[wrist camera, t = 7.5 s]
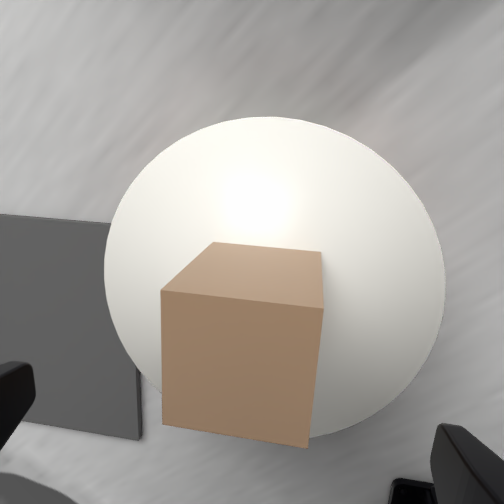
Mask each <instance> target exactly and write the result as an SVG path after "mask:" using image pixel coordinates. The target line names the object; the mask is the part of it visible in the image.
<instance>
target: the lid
mask: <svg viewBox="0 0 504 504" xmlns="http://www.w3.org/2000/svg"><path fill="white" fill-rule="evenodd" d="M104 282H105V291H106V299H107V303H108V307H109V311H110V315H111V318H112V321H113V323H114V326H115V329H116V331H117V334H118V336H119V338H120V340H121V342H122V344H123V346H124V348H125V350H126V351H127V353H128V355H129V356H130V358H131V359H132V361H133V362H134V364H135V365H136V366H137V368H138V369H139V371H140V372H141V373H142V374H143V375H144V376H145V377H146V379H147V380H148V381H149V382H150V383H151V384H152V385H153V386H154V387H155V388H156V389H157V390H158V391H159V392H160V393H161V394H162V424H163V425H169V426H175V427H181V428H187V429H193V430H199V431H205V432H211V433H217V434H222V435H228V436H234V437H240V438H246V439H252V440H258V441H264V442H270V443H276V444H282V445H288V446H294V447H300V448H306V449H308V443H309V438H313V437H318V436H322V435H327V434H331V433H334V432H337V431H340V430H343V429H345V428H348V427H351V426H353V425H355V424H357V423H359V422H361V421H363V420H365V419H367V418H369V417H371V416H372V415H374V414H375V413H377V412H378V411H380V410H381V409H383V408H384V407H386V406H387V405H388V404H389V403H391V402H392V401H393V400H394V399H395V398H396V397H397V396H398V395H400V394H401V393H402V392H403V391H404V390H405V388H406V387H407V386H408V385H409V384H410V383H411V381H412V380H413V379H414V378H415V377H416V376H417V374H418V372H419V371H420V369H421V368H422V366H423V365H424V363H425V362H426V360H427V358H428V356H429V354H430V352H431V350H432V348H433V345H434V343H435V341H436V339H437V335H438V332H439V329H440V325H441V322H442V318H443V312H444V304H445V297H446V285H445V268H444V262H443V256H442V250H441V246H440V243H439V240H438V237H437V234H436V231H435V228H434V226H433V224H432V222H431V220H430V218H429V216H428V214H427V212H426V210H425V208H424V206H423V204H422V202H421V201H420V199H419V198H418V197H417V195H416V194H415V192H414V191H413V189H412V188H411V187H410V185H409V184H408V183H407V182H406V181H405V180H404V178H403V177H402V176H401V175H400V174H399V173H398V172H397V171H396V170H395V169H394V168H393V167H392V166H391V165H390V164H389V163H388V162H386V161H385V160H384V159H383V158H381V157H380V156H379V155H378V154H376V153H375V152H374V151H373V150H371V149H370V148H368V147H366V146H365V145H363V144H361V143H360V142H358V141H356V140H354V139H353V138H351V137H349V136H347V135H345V134H342V133H340V132H338V131H335V130H333V129H330V128H328V127H326V126H322V125H318V124H314V123H311V122H307V121H303V120H298V119H289V118H281V117H249V118H243V119H237V120H231V121H225V122H222V123H219V124H215V125H212V126H209V127H206V128H203V129H201V130H198V131H196V132H194V133H192V134H190V135H188V136H186V137H184V138H182V139H180V140H179V141H177V142H176V143H174V144H173V145H171V146H170V147H168V148H167V149H165V150H164V151H162V152H161V153H160V154H159V155H158V156H157V157H156V158H154V159H153V160H152V161H151V162H150V163H149V164H148V165H147V166H146V167H145V168H144V169H143V170H142V171H141V173H140V174H139V175H138V176H137V177H136V179H135V180H134V181H133V182H132V184H131V185H130V187H129V188H128V190H127V192H126V193H125V195H124V197H123V198H122V200H121V202H120V204H119V206H118V209H117V211H116V213H115V215H114V218H113V220H112V224H111V227H110V231H109V234H108V238H107V243H106V250H105V258H104Z"/></svg>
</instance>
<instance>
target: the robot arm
mask: <svg viewBox="0 0 504 504" xmlns="http://www.w3.org/2000/svg"><path fill="white" fill-rule="evenodd" d="M35 398H36V387H35V379H34V371H33V367H32V365H31V364H30V363H27V362H21V361H10V362H7V363H4V364H0V451H1V449H2V448H3V446H4V445H5V443H6V442H7V441H8V439H9V438H10V436H11V435H12V433H13V432H14V431H15V429H16V428H17V426H18V425H19V423H20V422H21V421H22V419H23V418H24V416H25V415H26V413H27V412H28V411H29V409H30V408H31V406H32V405H33V403H34V401H35ZM430 465H431V472H432V477H433V481H434V484H433V483H427V482H421V481H415V480H409V479H403V478H398V479H395V480H394V481H393V483H392V487H391V492H390V497H389V503H388V504H504V460H502V459H501V458H500V457H499V456H498V455H496V454H495V453H494V452H493V451H491V450H490V449H489V448H488V447H487V446H485V445H484V444H483V443H482V442H481V441H479V440H478V439H477V438H476V437H475V436H473V435H472V434H471V433H470V432H469V431H467V430H466V429H465V428H463V427H462V426H459V425H453V424H446V423H441V424H439V425H438V427H437V430H436V434H435V438H434V443H433V447H432V452H431V457H430ZM402 487H403V489H400V488H402Z"/></svg>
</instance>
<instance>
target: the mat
mask: <svg viewBox="0 0 504 504" xmlns="http://www.w3.org/2000/svg"><path fill="white" fill-rule="evenodd" d="M111 224H112V223H100V222H88V221H76V220H65V219H53V218H41V217H30V216H18V215H6V214H0V364H4V363H7V362H10V361H21V362H27V363H30V364H31V365H32V367H33V371H34V379H35V387H36V398H35V401H34V403H33V405H32V406H31V408H30V409H29V411H28V412H27V413H26V415H25V416H24V418H23V419H22V421H27V422H32V423H38V424H44V425H50V426H56V427H62V428H67V429H73V430H79V431H85V432H91V433H97V434H102V435H108V436H114V437H120V438H126V439H131V440H137V441H139V439H140V438H141V436H142V421H141V396H140V371H139V369H138V368H137V366H136V365H135V364H134V362H133V361H132V359H131V358H130V356H129V355H128V353H127V351H126V350H125V348H124V346H123V344H122V342H121V340H120V338H119V336H118V334H117V331H116V329H115V326H114V323H113V321H112V318H111V315H110V311H109V307H108V303H107V299H106V291H105V282H104V258H105V250H106V243H107V238H108V234H109V231H110V227H111Z"/></svg>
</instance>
